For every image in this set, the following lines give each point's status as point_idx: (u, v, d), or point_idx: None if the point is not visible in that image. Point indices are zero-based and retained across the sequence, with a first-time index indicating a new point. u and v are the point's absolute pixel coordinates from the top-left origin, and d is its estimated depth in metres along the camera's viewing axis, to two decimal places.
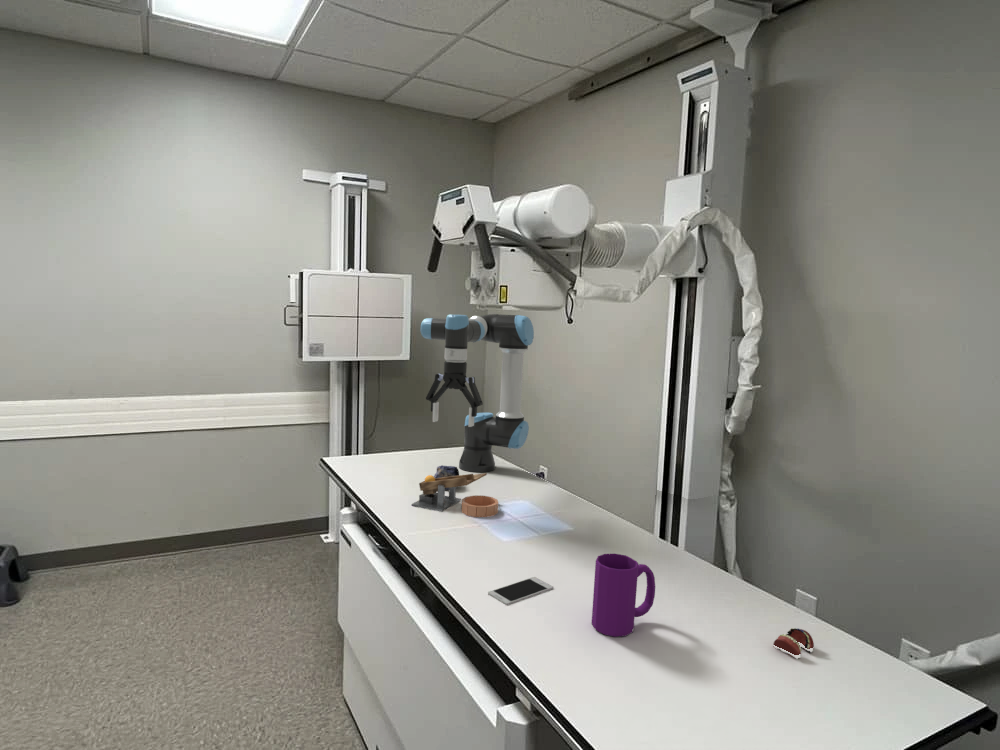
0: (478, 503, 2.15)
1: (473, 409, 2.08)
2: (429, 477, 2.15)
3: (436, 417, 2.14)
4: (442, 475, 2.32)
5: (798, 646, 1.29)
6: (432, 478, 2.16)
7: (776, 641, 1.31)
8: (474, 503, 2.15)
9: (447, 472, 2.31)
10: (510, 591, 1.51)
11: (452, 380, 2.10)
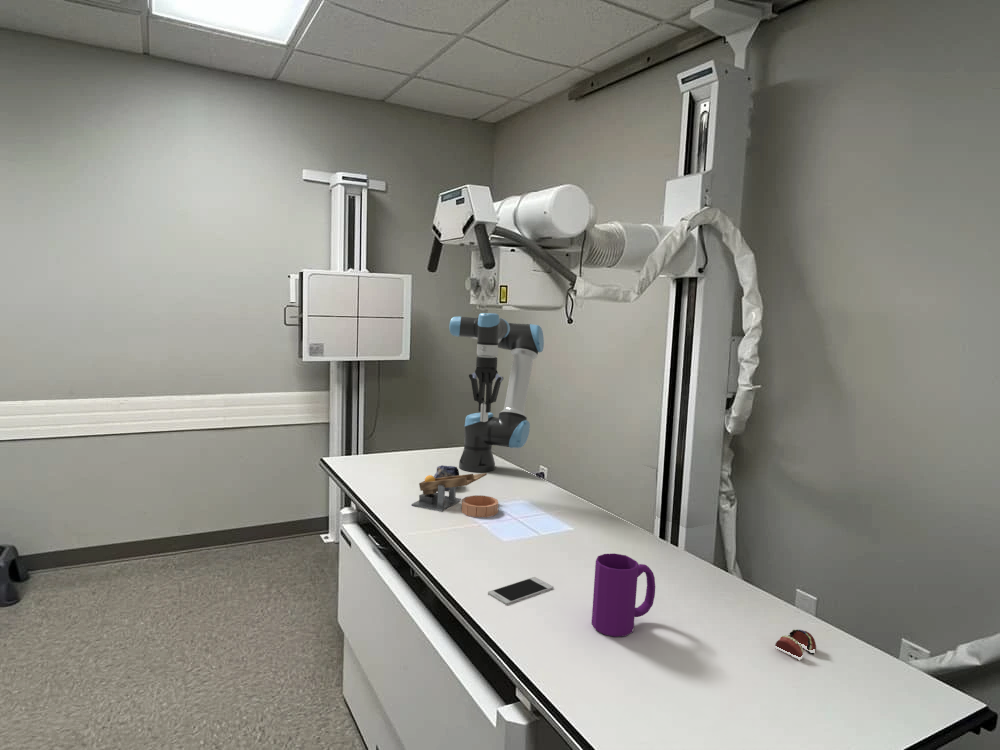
0: (478, 503, 2.15)
1: (487, 405, 2.27)
2: (429, 477, 2.15)
3: None
4: (442, 475, 2.32)
5: (800, 647, 1.28)
6: (432, 478, 2.16)
7: (778, 642, 1.31)
8: (474, 503, 2.15)
9: (447, 472, 2.31)
10: (510, 591, 1.51)
11: (483, 372, 2.26)
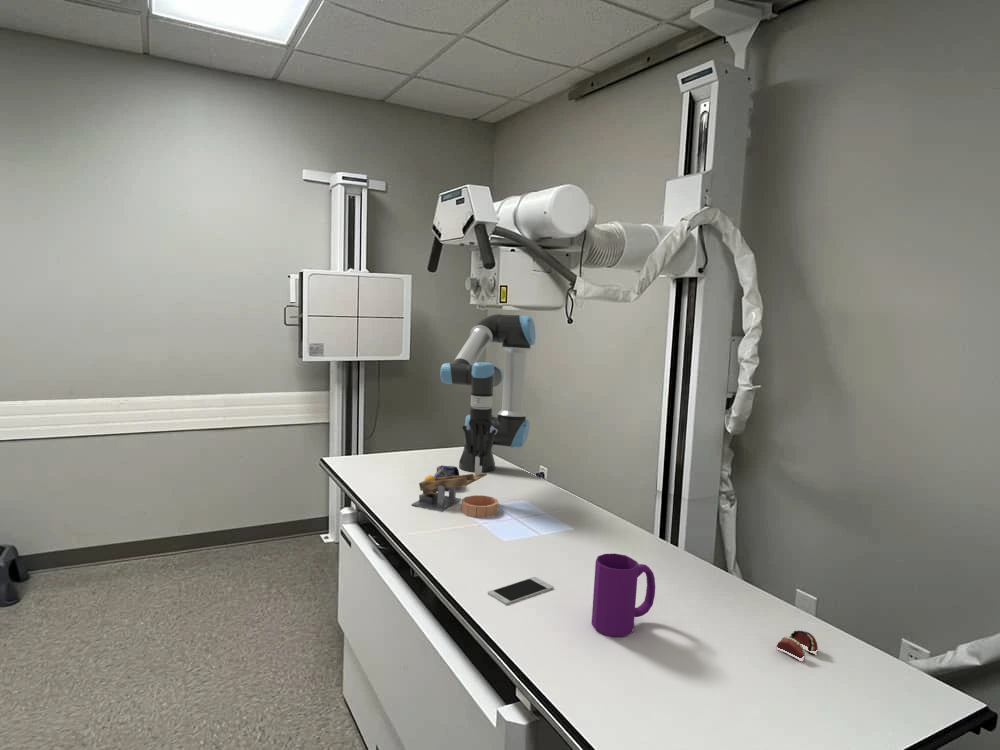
0: (478, 503, 2.15)
1: (481, 458, 2.18)
2: (429, 477, 2.15)
3: None
4: (442, 475, 2.32)
5: (802, 648, 1.28)
6: (432, 478, 2.16)
7: (779, 643, 1.30)
8: (474, 503, 2.15)
9: (447, 472, 2.31)
10: (510, 591, 1.51)
11: (477, 424, 2.17)
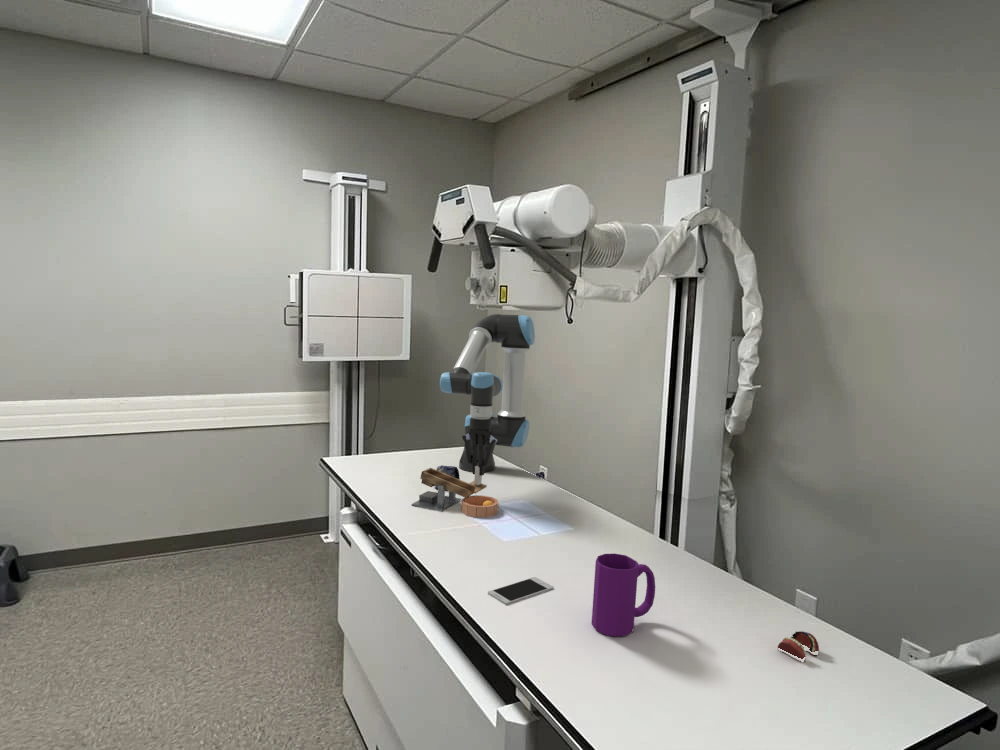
0: (478, 503, 2.15)
1: (481, 468, 2.18)
2: (489, 504, 2.07)
3: None
4: None
5: (803, 649, 1.28)
6: None
7: (780, 644, 1.30)
8: (474, 503, 2.15)
9: (447, 472, 2.31)
10: (510, 591, 1.51)
11: (477, 434, 2.17)
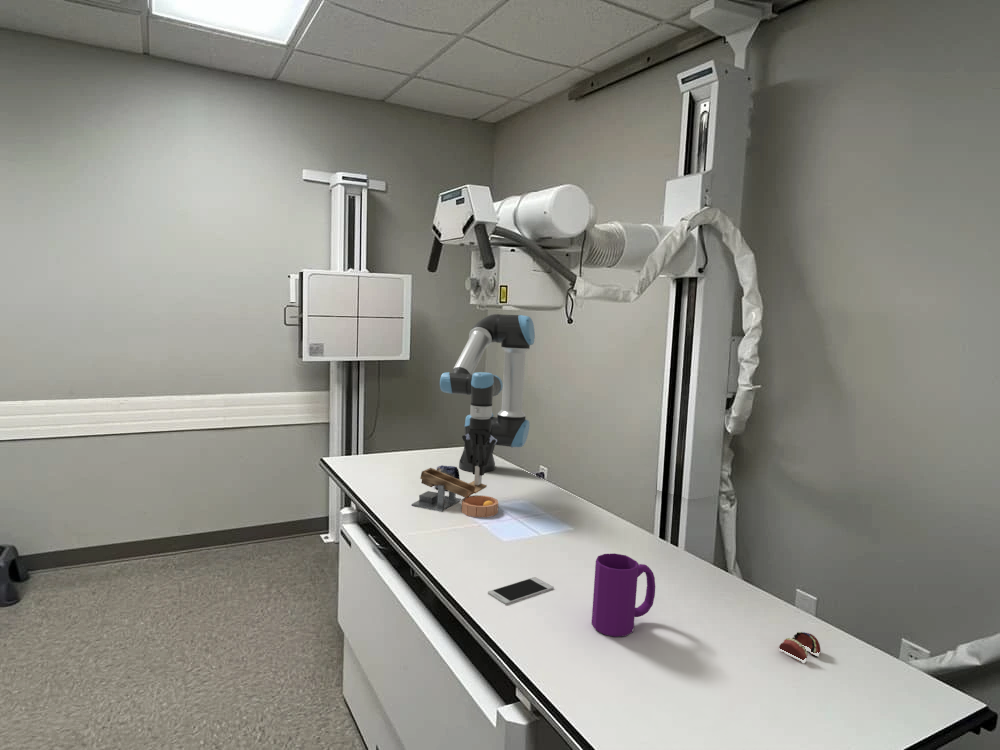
0: (478, 503, 2.15)
1: (481, 468, 2.18)
2: None
3: None
4: None
5: (804, 650, 1.27)
6: None
7: (782, 645, 1.30)
8: (474, 503, 2.15)
9: (447, 472, 2.31)
10: (510, 591, 1.51)
11: (477, 434, 2.17)
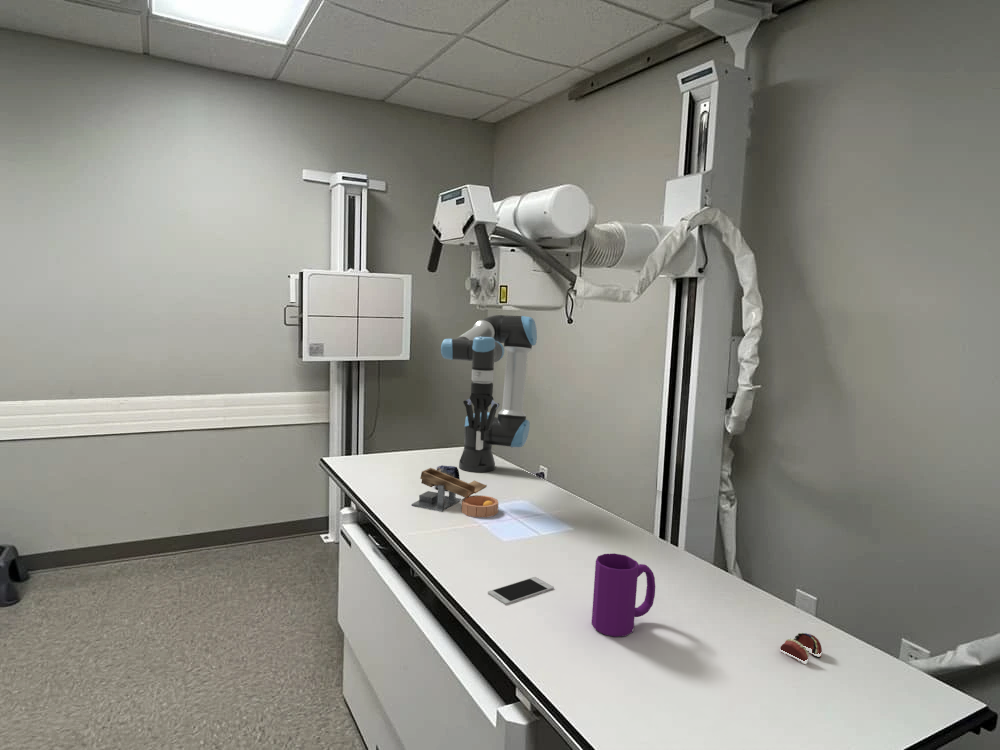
0: (478, 503, 2.15)
1: (482, 433, 2.17)
2: None
3: None
4: None
5: (805, 651, 1.27)
6: None
7: (783, 646, 1.29)
8: (474, 503, 2.15)
9: (447, 472, 2.31)
10: (510, 591, 1.51)
11: (478, 398, 2.16)
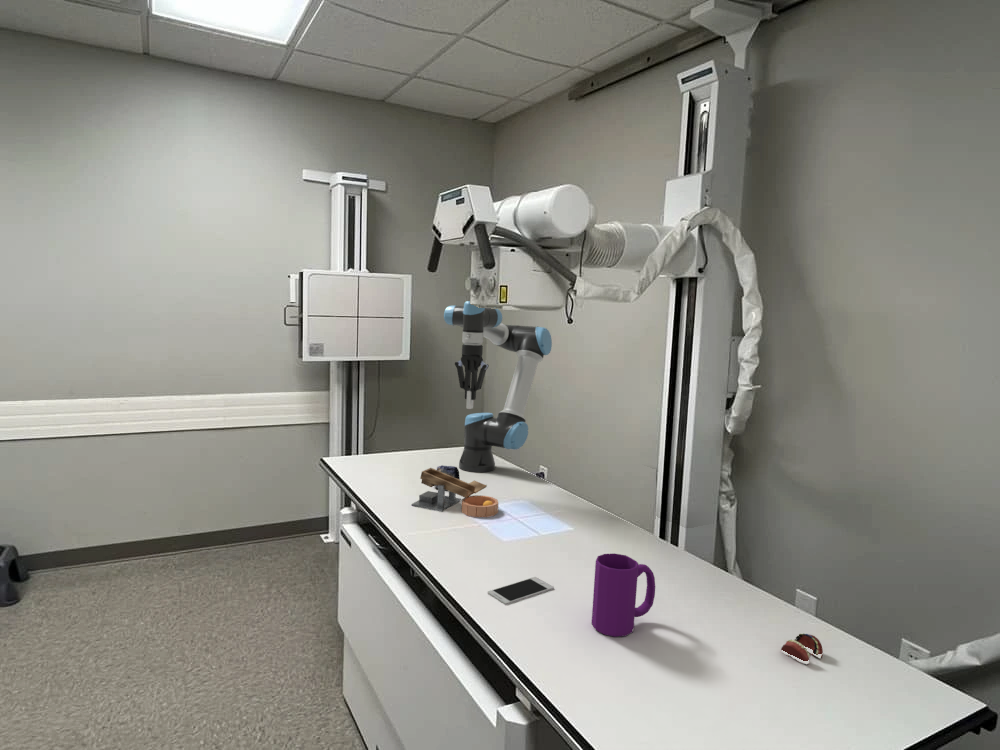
0: (478, 503, 2.15)
1: (472, 393, 2.29)
2: (490, 504, 2.07)
3: None
4: None
5: (806, 652, 1.27)
6: None
7: (784, 646, 1.29)
8: (474, 503, 2.15)
9: (447, 472, 2.31)
10: (510, 591, 1.51)
11: (469, 360, 2.28)
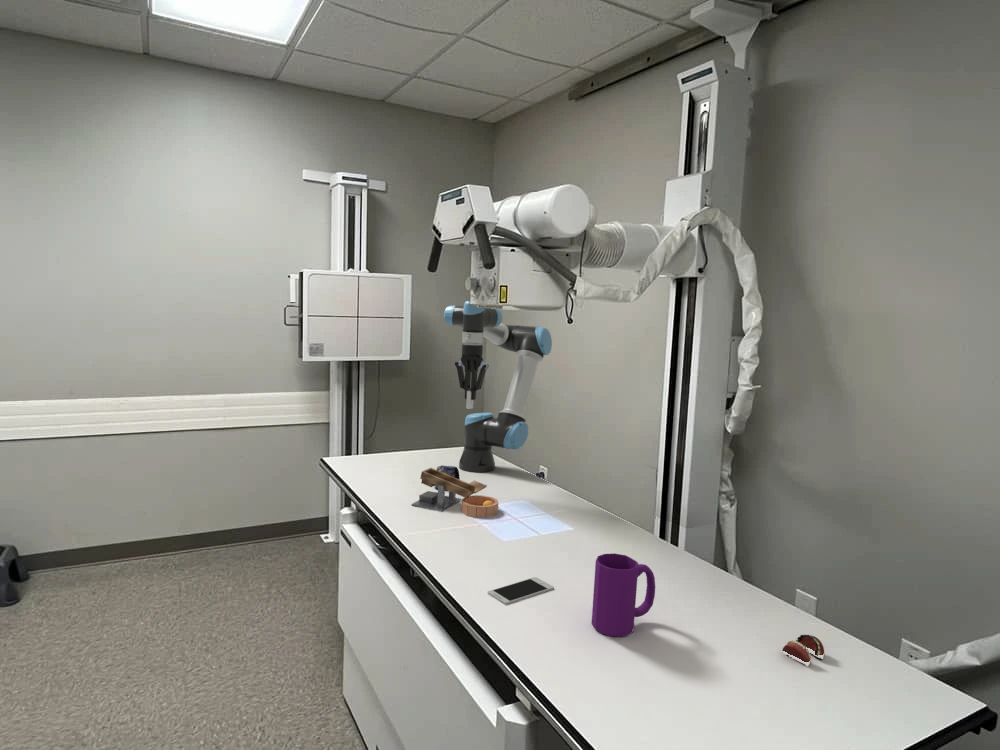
0: (478, 503, 2.15)
1: (472, 393, 2.29)
2: (489, 504, 2.07)
3: None
4: None
5: (808, 653, 1.26)
6: None
7: (785, 647, 1.29)
8: (474, 503, 2.15)
9: (447, 472, 2.31)
10: (510, 591, 1.51)
11: (469, 360, 2.28)
